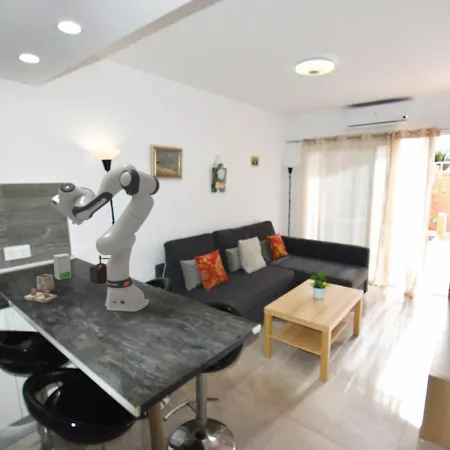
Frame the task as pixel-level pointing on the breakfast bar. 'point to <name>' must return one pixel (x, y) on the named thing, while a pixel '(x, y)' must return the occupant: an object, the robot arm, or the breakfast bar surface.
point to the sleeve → (45, 283)
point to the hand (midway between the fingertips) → (67, 218)
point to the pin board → (40, 296)
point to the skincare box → (62, 266)
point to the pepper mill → (98, 272)
